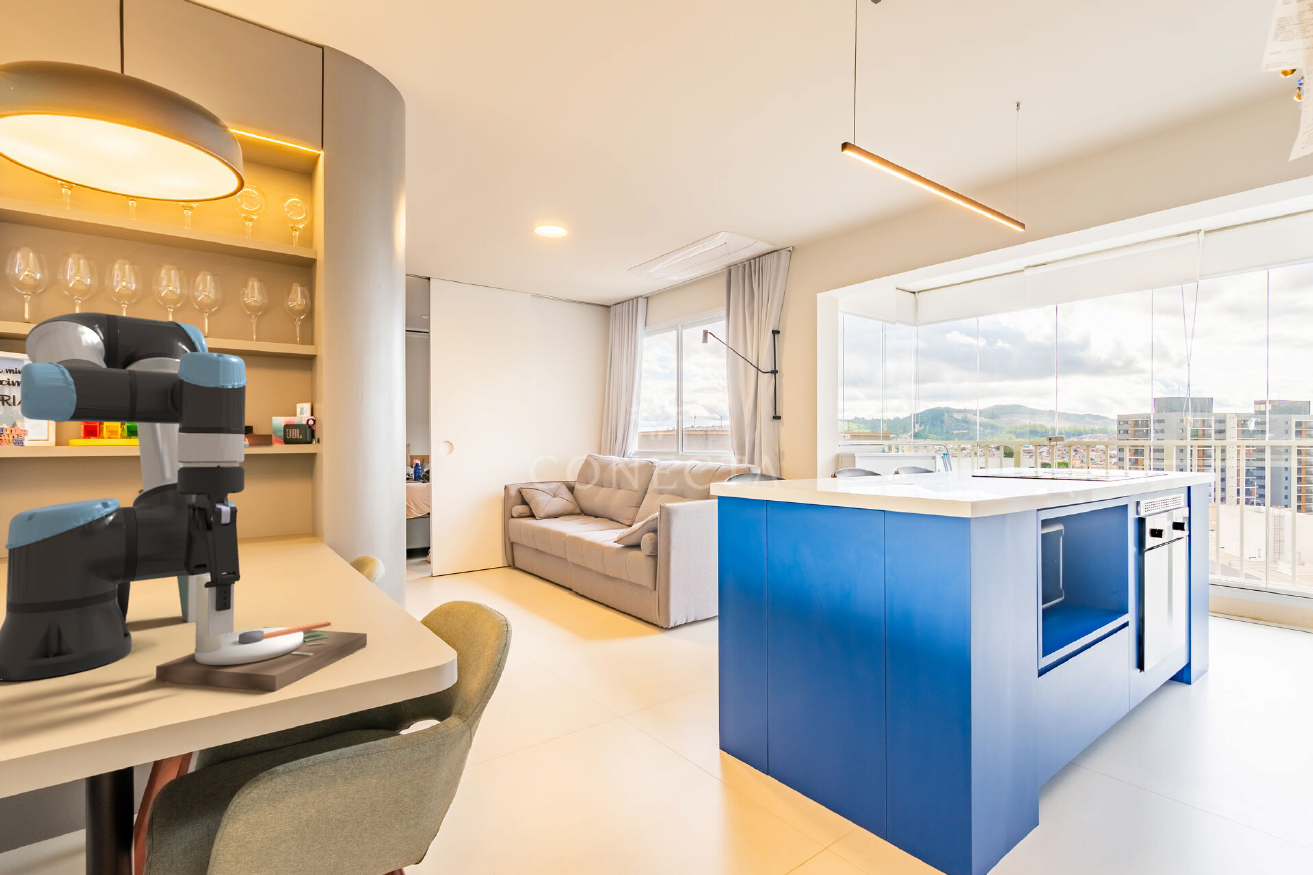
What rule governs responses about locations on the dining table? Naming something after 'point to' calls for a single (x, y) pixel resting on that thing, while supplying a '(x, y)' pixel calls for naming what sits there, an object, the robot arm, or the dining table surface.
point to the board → (267, 664)
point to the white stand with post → (242, 637)
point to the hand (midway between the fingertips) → (209, 626)
